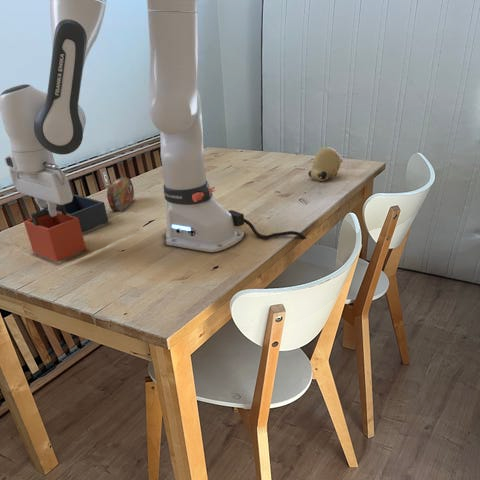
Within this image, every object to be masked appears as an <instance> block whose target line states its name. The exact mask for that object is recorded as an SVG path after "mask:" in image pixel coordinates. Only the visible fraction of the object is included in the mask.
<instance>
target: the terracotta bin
mask: <svg viewBox="0 0 480 480" xmlns="http://www.w3.org/2000/svg"><path fill="white" fill-rule="evenodd" d="M47 209H48V208H47ZM47 209H44V210H39V211H35V212H31V213H30V215H31V218H29V219H26V220H24V221H23V223H24V227H25V230H26V233H27V236H28V239H29V243H30V245H31V249H32V252H33V253H34V254H37V255H39V256H42V257H45V258H47V259H50V260H52V261H55V262H57V263H58V262H60V261H62V260H65V259H66V258H69V257H71V256H73V255H75V254H77V253H81V252H82V251H84V250H86V249H87V247H86V243H85V240H84V235H83V232H82V231H81V227H80V223H79V219H78V218H77V217H74V216H71V215H67V213H66V209H65V205H59V204H58V205H56V211H58V210H61V212H62V213H61V212H57V215H56V216H54V217H51V216H48V213H47Z"/></svg>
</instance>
